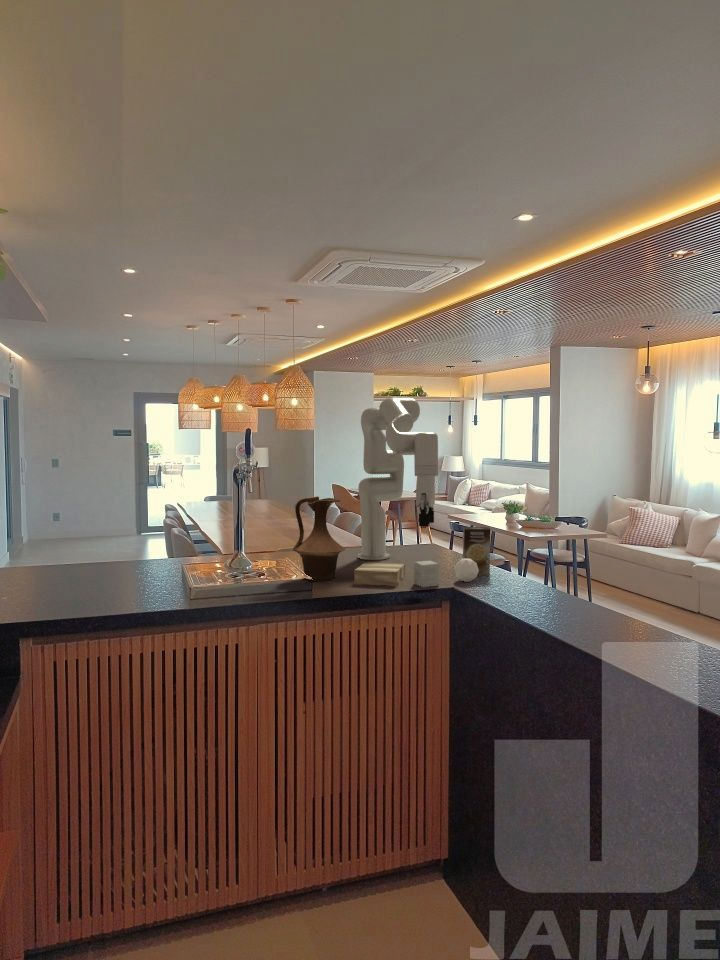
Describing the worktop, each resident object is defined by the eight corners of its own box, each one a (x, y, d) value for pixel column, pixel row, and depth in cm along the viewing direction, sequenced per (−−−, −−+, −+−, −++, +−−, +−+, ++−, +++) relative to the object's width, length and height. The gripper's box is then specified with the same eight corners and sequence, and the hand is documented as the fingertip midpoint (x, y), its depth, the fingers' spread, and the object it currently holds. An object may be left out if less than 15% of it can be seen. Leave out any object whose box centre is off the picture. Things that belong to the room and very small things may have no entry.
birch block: (365, 576, 236) (365, 562, 236) (405, 578, 233) (405, 563, 232) (354, 585, 223) (354, 570, 222) (396, 587, 219) (396, 572, 219)
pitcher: (296, 585, 222) (295, 499, 220) (290, 574, 239) (289, 494, 237) (349, 582, 226) (348, 497, 224) (340, 572, 242) (339, 493, 240)
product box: (430, 582, 225) (430, 560, 224) (439, 586, 219) (439, 563, 218) (413, 583, 222) (413, 561, 222) (422, 587, 217) (421, 564, 216)
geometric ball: (473, 589, 225) (485, 572, 221) (452, 582, 223) (464, 565, 219) (468, 574, 231) (480, 557, 228) (447, 567, 229) (460, 550, 225)
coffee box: (463, 575, 235) (463, 528, 234) (462, 571, 241) (462, 526, 240) (490, 575, 234) (490, 529, 233) (488, 571, 240) (488, 526, 239)
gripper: (419, 469, 227) (419, 521, 228) (409, 472, 211) (410, 527, 212) (441, 469, 225) (442, 521, 227) (433, 472, 209) (434, 528, 210)
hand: (426, 524), depth 219 cm, fingers open, 9 cm apart
